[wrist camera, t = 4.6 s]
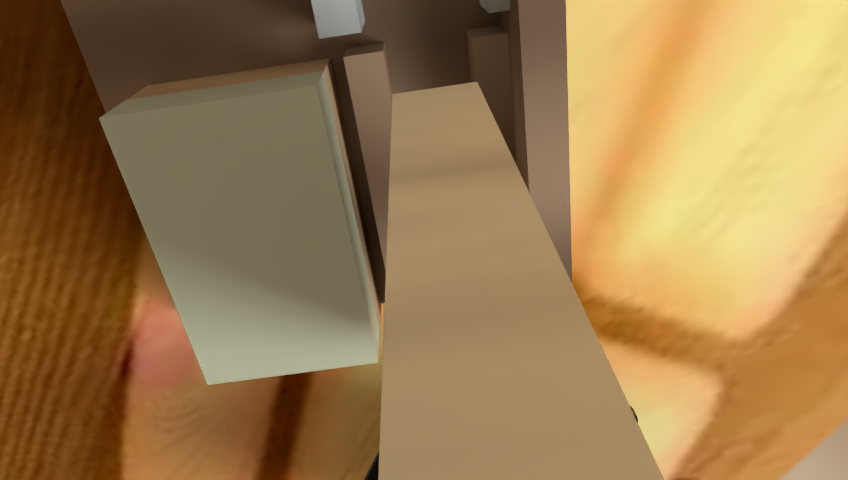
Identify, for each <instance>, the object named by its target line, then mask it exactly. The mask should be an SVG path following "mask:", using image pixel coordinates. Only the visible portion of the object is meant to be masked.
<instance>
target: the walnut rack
mask: <svg viewBox="0 0 848 480" xmlns="http://www.w3.org/2000/svg"><path fill="white" fill-rule="evenodd" d="M60 1H61V3H62V6H63V8H64V11H65V13H66V16H67V18H68V21H69V23H70V26H71V28H72V31H73V33H74V36H75V38H76V41H77V43H78V46H79V48H80V51H81V53H82V56H83V58H84V61H85V63H86V66H87V68H88V71H89V73H90V76H91V78H92V81H93V83H94V86H95V88H96V90H97V93H98V95H99V98H100V100H101V103H102V105H103V108H104V110H105V113H107V112H109V111H110V110H112V109H113V108H115V107H116V106H118V105H119V104H121V103H122V102H124V101H125V100H127V99H128V98H130V97H131V96H133V95H134V94H136V93H137V92H139V91H140V90H142V89H143V88H145V87H146V86H148V85H154V84H161V83H167V82H174V81H181V80H187V79H194V78H201V77H208V76H214V75H221V74H228V73H234V72H241V71H248V70H254V69H261V68H268V67H274V66H281V65H288V64H294V63H301V62H308V61H315V60H321V59H328V58H330V60H331V65H332V70H333V75H334V80H335V85H336V89H337V94H338V99H339V104H340V109H341V113H342V118H343V123H344V128H345V133H346V137H347V142H348V147H349V152H350V157H351V161H352V166H353V171H354V176H355V181H356V185H357V190H358V195H359V200H360V205H361V209H362V214H363V219H364V224H365V229H366V233H367V238H368V243H369V248H370V253H371V257H372V262H373V267H374V272H375V277H376V282H377V286H378V291H379V296H380V301H381V303H385V283H386V256H387V228H388V201H389V174H390V146H391V119H392V94H397V93H404V92H411V91H417V90H424V89H431V88H438V87H444V86H451V85H458V84H465V83H471V82H477V83H478V85H479V87H480V89H481V91H482V93H483V95H484V97H485V100H486V102H487V104H488V106H489V108H490V110H491V112H492V114H493V117H494V119H495V121H496V123H497V125H498V127H499V129H500V131H501V134H502V136H503V138H504V140H505V142H506V144H507V146H508V148H509V151H510V153H511V155H512V157H513V159H514V161H515V163H516V166H517V168H518V170H519V172H520V174H521V176H522V178H523V180H524V183H525V185H526V187H527V189H528V191H529V193H530V195H531V197H532V200H533V202H534V204H535V206H536V208H537V210H538V212H539V214H540V217H541V219H542V221H543V223H544V225H545V227H546V229H547V232H548V234H549V236H550V238H551V240H552V242H553V244H554V246H555V249H556V251H557V253H558V255H559V257H560V259H561V261H562V263H563V266H564V268H565V270H566V272H567V274H568V276H569V278H570V280H571V283H572V263H571V219H570V176H569V132H568V88H567V44H566V1H565V0H60Z"/></svg>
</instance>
